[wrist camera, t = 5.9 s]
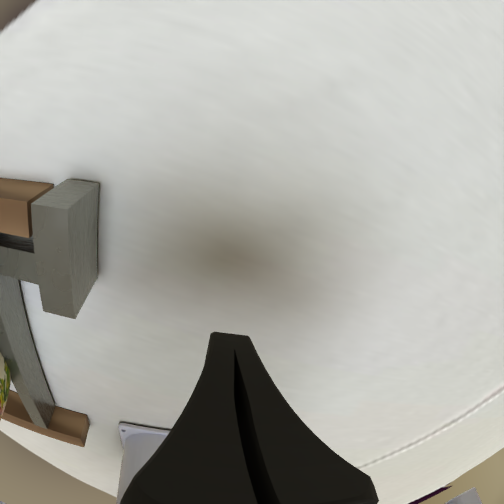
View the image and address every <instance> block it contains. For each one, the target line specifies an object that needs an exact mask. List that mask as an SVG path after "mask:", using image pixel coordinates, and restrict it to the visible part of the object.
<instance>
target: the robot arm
mask: <svg viewBox="0 0 504 504" xmlns="http://www.w3.org/2000/svg"><path fill="white" fill-rule="evenodd" d="M118 427H119V432H120V437H121V442H122V446H123V457H122V464H121V471H120V479H119V486H118V495H117V504H377V503H378V501H379V500H378V497H377V493H376V490H375V487H374V485H373V482H372V480H371V478H370V476H368V475H367V474H365V473H363V472H362V471H360V470H359V469H357V468H356V467H354V466H353V465H351V464H350V463H348V462H347V461H345V460H344V459H343V458H341V457H340V456H339V455H337V454H336V453H335V452H334V451H332V450H331V449H330V448H329V447H328V446H327V445H326V444H325V443H324V442H322V441H321V440H320V439H319V438H318V437H317V436H316V435H315V434H314V433H313V432H312V431H311V430H310V429H309V428H308V427H307V426H306V425H305V424H304V422H303V421H302V420H301V419H300V418H299V417H298V416H297V414H296V413H295V412H294V411H293V409H292V408H291V407H290V406H289V404H288V403H287V402H286V400H285V399H284V397H283V396H282V394H281V393H280V392H279V390H278V389H277V387H276V385H275V384H274V382H273V381H272V379H271V377H270V376H269V374H268V372H267V371H266V369H265V367H264V365H263V363H262V362H261V360H260V358H259V356H258V354H257V352H256V350H255V348H254V346H253V344H252V341H251V339H250V338H249V336H245V335H236V334H228V333H220V332H213V333H211V335H210V340H209V345H208V350H207V355H206V360H205V365H204V368H203V371H202V373H201V376H200V378H199V380H198V383H197V385H196V387H195V389H194V391H193V393H192V395H191V397H190V399H189V401H188V403H187V405H186V407H185V408H184V410H183V412H182V414H181V415H180V417H179V418H178V420H177V422H176V423H175V425H174V426H173V428H172V429H171V431H168V430H161V429H154V428H148V427H142V426H137V425H131V424H126V423H119V426H118ZM0 504H6V503H3V502H2V501H0ZM445 504H482V502H481V500H480V498H479V495H478V493H477V491H476V489H475V488H472V489H470V490H468V491H466V492H464V493H462V494H460V495H458V496H456V497H455V498H453V499H451V500H449V501H448V502H446V503H445Z"/></svg>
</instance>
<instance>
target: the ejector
mask: <svg viewBox="0 0 504 504" xmlns="http://www.w3.org/2000/svg"><path fill="white" fill-rule="evenodd" d="M98 193H99V183H95V182H87V181H80V180H72V179H67V180H65V181H64V182H62V183H60V184H59V185H57V186H56V187H54V188H53V189H51V190H50V191H49V192H47V193H46V194H44V195H43V196H41V197H40V198H38V199H37V200H36V201H34V202H33V203H31V215H32V231H33V235H32V236H31V237H30V238H26V237H21V236H16V235H11V234H6V233H1V232H0V353H1V354H2V356H3V358H4V359H5V362H6V364H7V366H8V368H9V371H10V376H11V380H12V382H13V384H14V386H15V388H16V390H17V393H18V395H19V397H20V399H21V401H22V403H23V404H24V406H25V408H26V410H27V412H28V414H29V416H30V418H31V419H32V421H33V423H34V425H36V426H39V427H42V428H45V429H48V426H49V423H50V420H51V417H52V414H53V412H54V409H55V404H54V402H53V399H52V397H51V394H50V392H49V389H48V386H47V384H46V381H45V378H44V375H43V372H42V370H41V367H40V364H39V361H38V357H37V354H36V351H35V348H34V344H33V341H32V337H31V334H30V330H29V326H28V323H27V319H26V315H25V310H24V306H23V302H22V297H21V292H20V287H19V282H18V280H22V281H26V282H30V283H34V284H38V285H39V289H40V295H41V301H42V306H43V311H45V312H49V313H53V314H57V315H61V316H65V317H69V318H73V319H76V317H77V315H78V313H79V311H80V309H81V307H82V305H83V303H84V302H85V300H86V298H87V296H88V294H89V292H90V291H91V289H92V287H93V285H94V283H95V282H96V280H97V278H98V277H97V214H98Z"/></svg>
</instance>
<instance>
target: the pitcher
mask: <svg viewBox="0 0 504 504" xmlns="http://www.w3.org/2000/svg"><path fill="white" fill-rule="evenodd" d="M10 381H11V376H10V371H9V368H8V366H7V364H6V362H5V359H4V358H3V356H2V354H1V353H0V420H1V418H2V415H3V412H4V409H5V406H6V402H7V398H8V393H9V388H10Z"/></svg>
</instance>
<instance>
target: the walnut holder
mask: <svg viewBox="0 0 504 504" xmlns="http://www.w3.org/2000/svg"><path fill="white" fill-rule="evenodd" d="M51 189H53V184H49V183H41V182H32V181H23V180H14V179H5V178H0V232H1V233H6V234H11V235H16V236H21V237H26V238H30V237H31V236H32V235H33V231H32V215H31V203H33V202H34V201H36V200H37V199H38V198H40V197H41V196H43V195H44V194H46V193H47V192H49V191H50V190H51ZM2 419H4V420H7V421H9V422H11V423H14V424H16V425H19V426H21V427H24V428H26V429H29V430H32V431H34V432H37V433H40V434H43V435H46V436H49V437H52V438H55V439H58V440H61V441H64V442H67V443H71V444H74V445H78V446H81V447H84V446H85V441H86V437H87V433H88V429H89V425H90V424H89V421H88V418H87V415H85V414H81V413H77V412H74V411H70V410H67V409H63V408H60V407H57V406H55V409H54V412H53V414H52V417H51V420H50V423H49V426H48V429H45V428H42V427H39V426H36V425H34V423H33V421H32V419H31V418H30V416H29V414H28V412H27V410H26V408H25V406H24V404H23V403H22V401H21V399H20V397H19V395H18V393H16V392H13V391H11V390H9V393H8V398H7V402H6V406H5V409H4V412H3V415H2Z"/></svg>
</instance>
